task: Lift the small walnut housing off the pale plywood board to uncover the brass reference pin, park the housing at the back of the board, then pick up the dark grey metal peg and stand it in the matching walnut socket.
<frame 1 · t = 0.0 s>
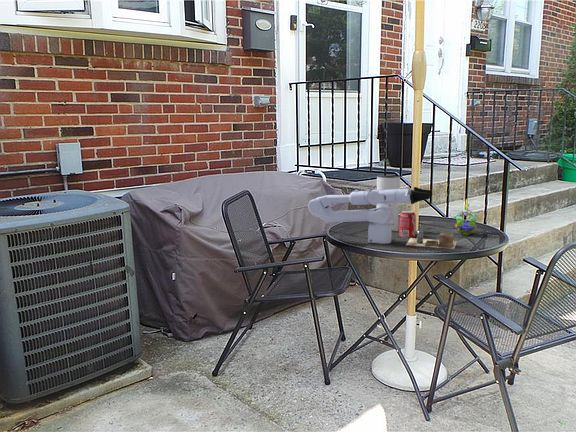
hand: (431, 194, 206), 22 cm above the table, tool horizontal, fingers open, 7 cm apart
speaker: (387, 231, 242), on the table
housing: (446, 245, 207), point 1 cm above the table, touching board
peg: (419, 242, 213), point 1 cm above the table, touching board
soda can: (407, 238, 227), on the table
toy helicopter: (465, 235, 230), on the table
board: (431, 245, 213), on the table
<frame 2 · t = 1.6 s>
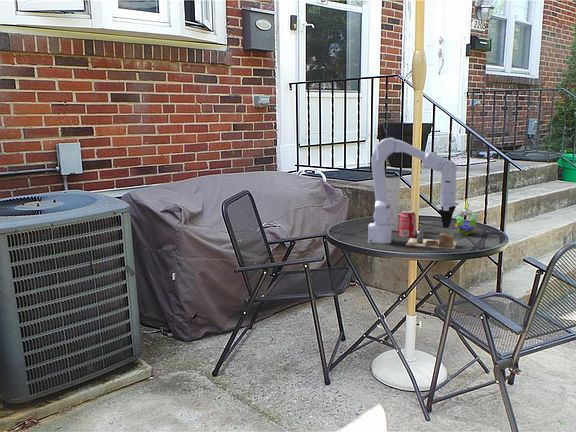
hand: (446, 225, 206), 9 cm above the table, tool pointing down, fingers open, 7 cm apart
nothing on the table moved.
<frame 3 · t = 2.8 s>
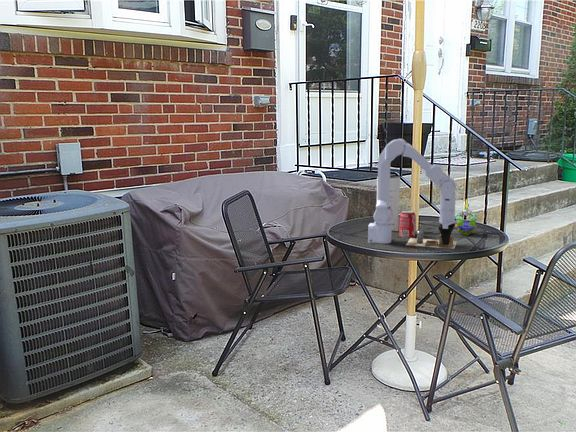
hand: (446, 242, 207), 2 cm above the table, tool pointing down, fingers closed on housing, 5 cm apart
housing: (446, 245, 207), point 1 cm above the table, touching board, gripper
everything else where it was.
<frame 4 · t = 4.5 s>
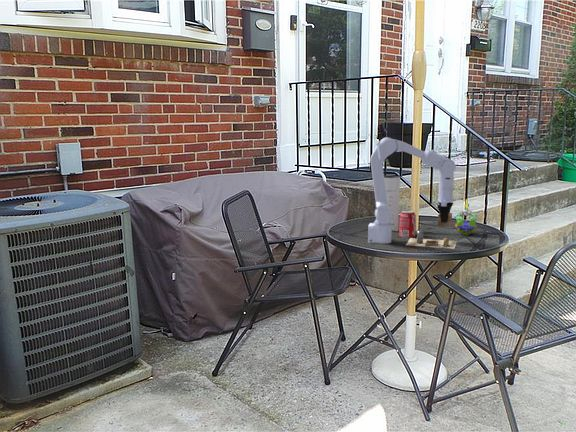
hand: (444, 221, 213), 10 cm above the table, tool pointing down, fingers closed on housing, 5 cm apart
housing: (444, 224, 213), point 8 cm above the table, touching gripper
everything else where it was.
when the fingers open (3 cm above the table, at t = 6.4 s): housing stays where it is, resting on board.
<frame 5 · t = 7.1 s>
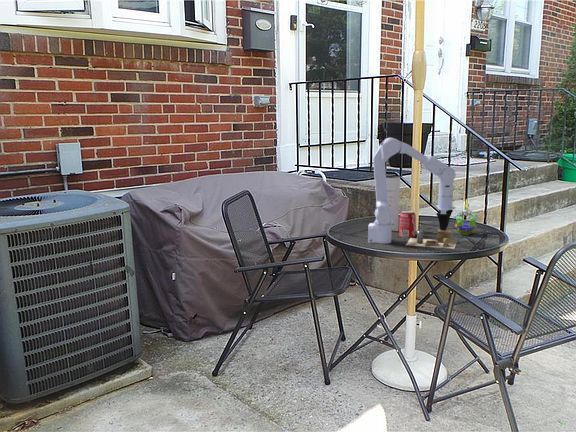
hand: (444, 228, 214), 7 cm above the table, tool pointing down, fingers open, 7 cm apart
housing: (444, 241, 215), point 1 cm above the table, touching board
everything else where it was.
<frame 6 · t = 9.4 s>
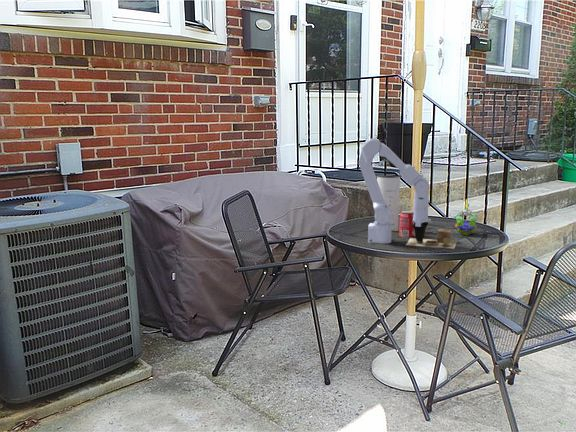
hand: (419, 240, 213), 2 cm above the table, tool pointing down, fingers closed on peg, 2 cm apart
peg: (419, 242, 213), point 1 cm above the table, touching board, gripper
everything else where it was.
when the fingers open (3 cm above the table, at t = 12.5 s): peg stays where it is, resting on board.
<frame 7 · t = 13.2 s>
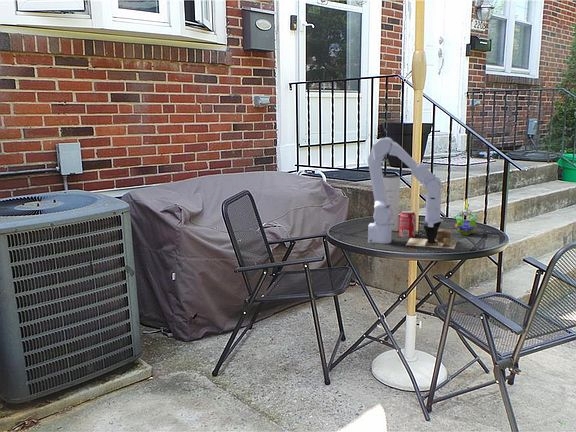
hand: (431, 241, 209), 3 cm above the table, tool pointing down, fingers open, 7 cm apart
housing: (444, 241, 215), point 1 cm above the table, touching board, gripper
peg: (431, 244, 209), point 1 cm above the table, touching board
everything else where it was.
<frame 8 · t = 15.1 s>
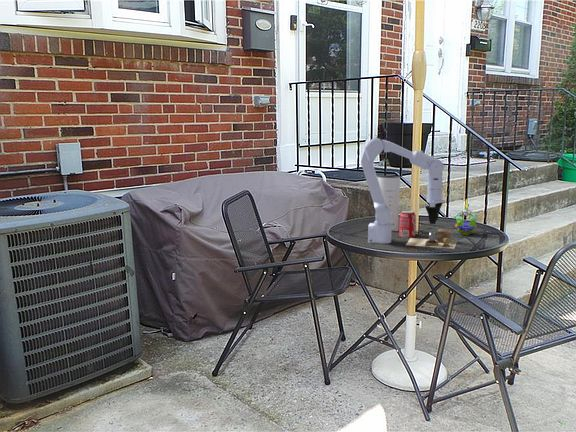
hand: (433, 221, 212), 10 cm above the table, tool pointing down, fingers open, 7 cm apart
housing: (444, 241, 215), point 1 cm above the table, touching board
everything else where it was.
at the end: peg 0.0 cm from the target spot on the board, point 1.3 cm above the board's base; peg tilted 0°; housing moved 7.6 cm from its start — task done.
